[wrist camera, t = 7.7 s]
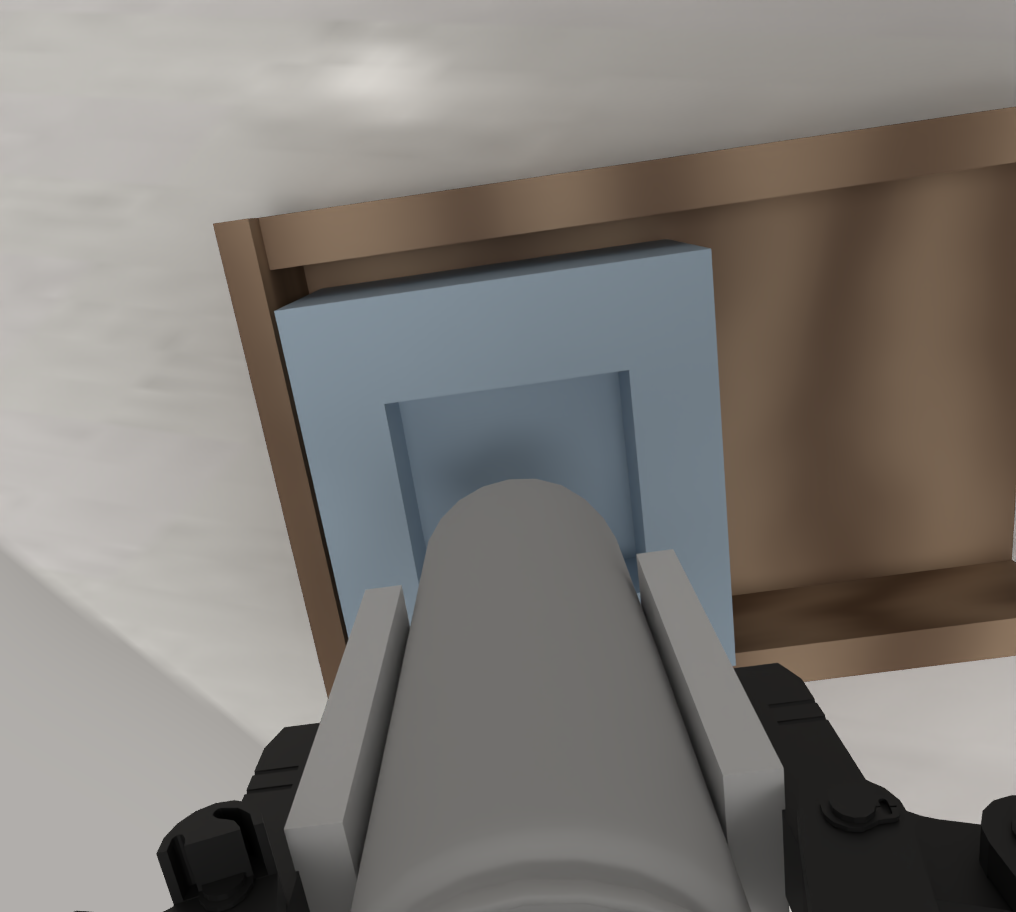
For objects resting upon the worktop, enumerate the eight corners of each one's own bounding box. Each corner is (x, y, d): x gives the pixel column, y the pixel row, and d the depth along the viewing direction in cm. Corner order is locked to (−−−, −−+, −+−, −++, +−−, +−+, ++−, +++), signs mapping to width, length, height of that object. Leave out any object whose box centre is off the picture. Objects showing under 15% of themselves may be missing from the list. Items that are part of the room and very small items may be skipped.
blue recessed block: (666, 239, 27) (711, 248, 21) (692, 580, 31) (735, 665, 25) (321, 288, 27) (274, 311, 22) (390, 619, 31) (365, 711, 26)
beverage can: (464, 441, 19) (409, 823, 7) (652, 509, 19) (879, 964, 8) (398, 613, 20) (263, 1166, 9) (576, 672, 21) (673, 1264, 9)
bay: (1019, 109, 27) (1159, 84, 21) (994, 582, 32) (1100, 663, 27) (271, 219, 28) (212, 224, 22) (369, 662, 33) (342, 756, 28)
